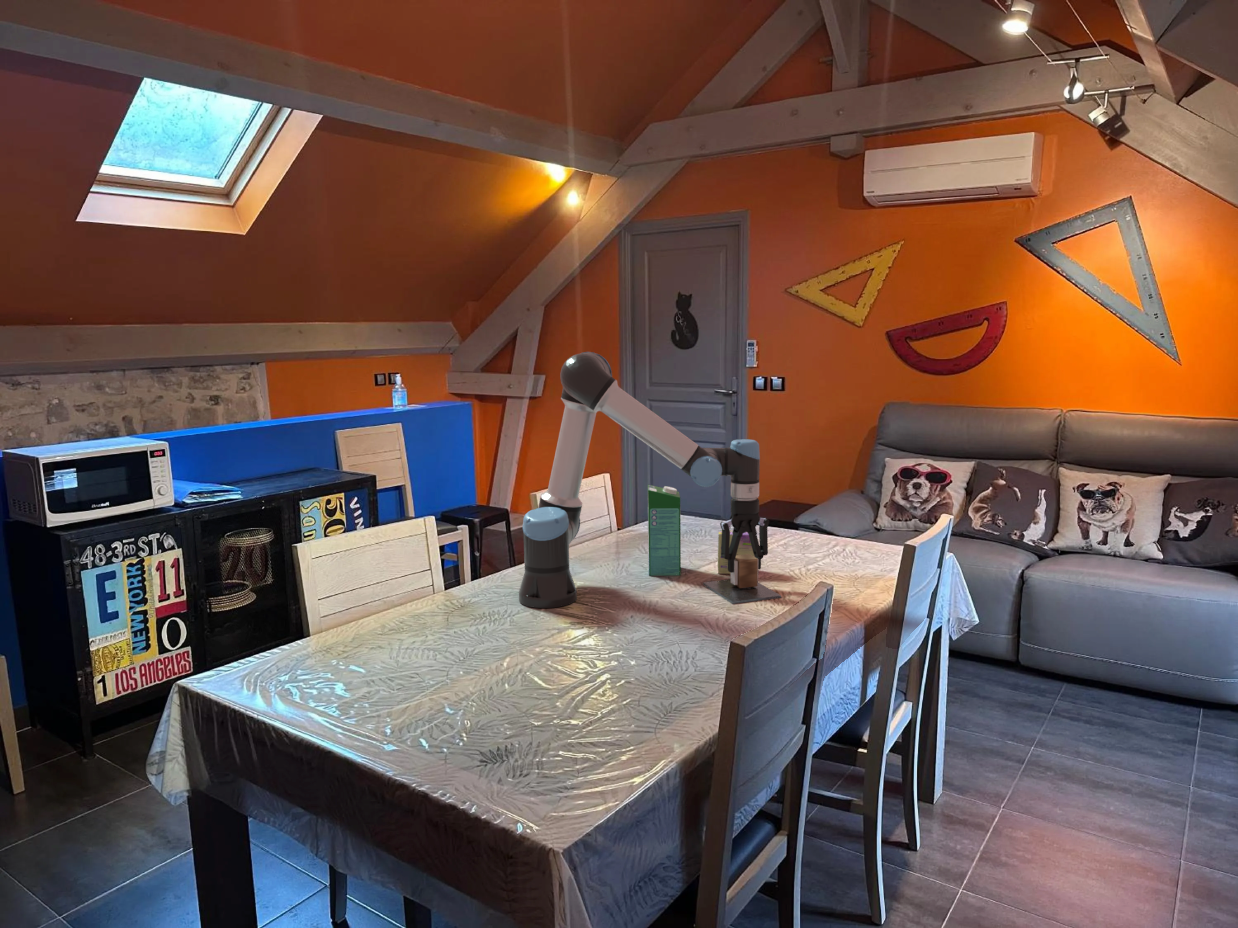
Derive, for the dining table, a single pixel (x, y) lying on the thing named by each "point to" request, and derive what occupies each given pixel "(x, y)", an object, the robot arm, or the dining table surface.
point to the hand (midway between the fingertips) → (744, 582)
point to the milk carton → (664, 531)
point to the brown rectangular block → (747, 570)
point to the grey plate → (740, 592)
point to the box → (742, 549)
